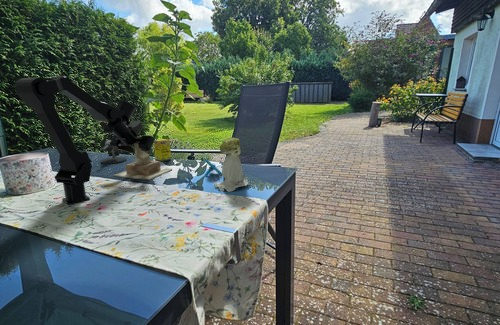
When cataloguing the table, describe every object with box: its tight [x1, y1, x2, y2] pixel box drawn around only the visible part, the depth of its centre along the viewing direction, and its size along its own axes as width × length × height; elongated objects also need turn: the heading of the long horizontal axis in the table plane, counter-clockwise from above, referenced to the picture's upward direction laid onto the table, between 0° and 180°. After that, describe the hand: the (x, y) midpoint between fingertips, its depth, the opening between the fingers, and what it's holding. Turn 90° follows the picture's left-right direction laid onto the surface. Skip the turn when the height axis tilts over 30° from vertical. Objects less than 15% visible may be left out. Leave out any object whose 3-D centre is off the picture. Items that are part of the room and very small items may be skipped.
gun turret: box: [99, 136, 128, 165], centre depth 142 cm, size 13×20×13 cm, turn 14°
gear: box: [203, 158, 222, 177], centre depth 119 cm, size 11×6×10 cm
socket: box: [113, 160, 173, 181], centre depth 123 cm, size 18×16×5 cm
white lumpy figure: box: [213, 137, 250, 193], centre depth 103 cm, size 12×13×18 cm
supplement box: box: [153, 138, 172, 163], centre depth 146 cm, size 6×6×11 cm
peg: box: [133, 144, 151, 165], centre depth 122 cm, size 4×4×14 cm
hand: (142, 153), depth 122 cm, fingers open, 9 cm apart
